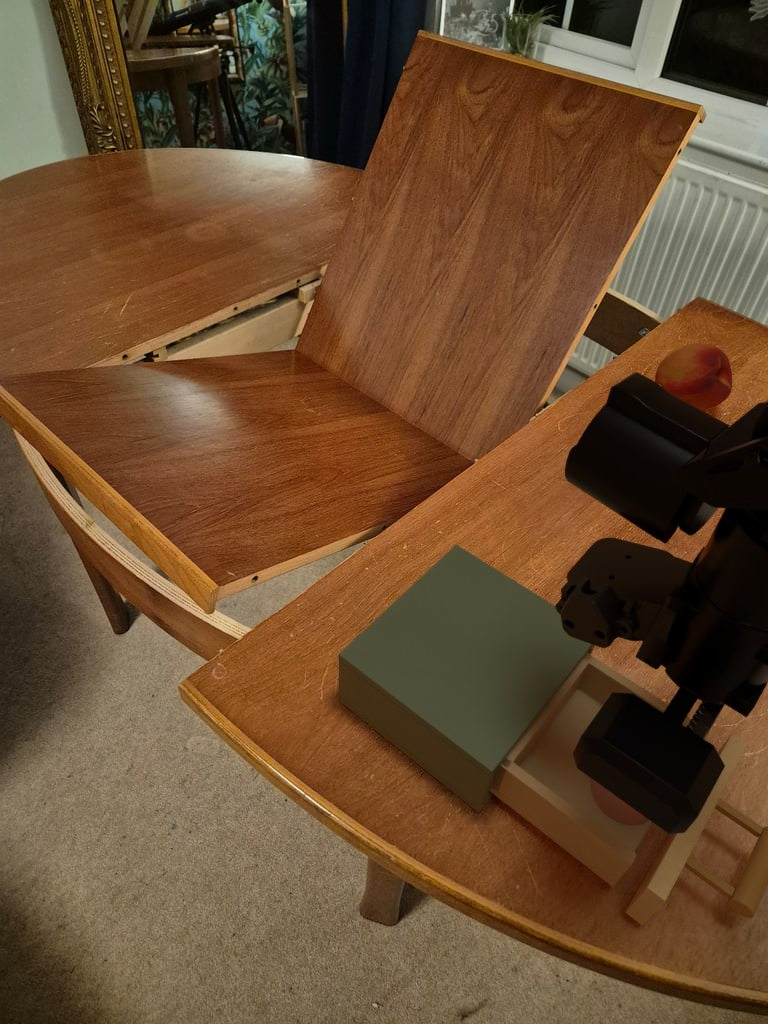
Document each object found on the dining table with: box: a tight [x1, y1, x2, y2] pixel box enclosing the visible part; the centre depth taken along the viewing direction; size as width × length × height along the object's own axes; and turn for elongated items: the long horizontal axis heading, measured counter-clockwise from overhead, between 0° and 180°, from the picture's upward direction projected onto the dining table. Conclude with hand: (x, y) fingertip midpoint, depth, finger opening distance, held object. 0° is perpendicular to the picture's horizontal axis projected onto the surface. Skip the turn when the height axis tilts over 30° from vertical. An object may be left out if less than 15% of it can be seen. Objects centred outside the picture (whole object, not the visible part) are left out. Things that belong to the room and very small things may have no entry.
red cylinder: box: [591, 779, 649, 825], centre depth 50 cm, size 5×5×7 cm
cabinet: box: [338, 544, 596, 813], centre depth 58 cm, size 14×15×7 cm
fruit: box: [654, 343, 733, 412], centre depth 86 cm, size 8×8×8 cm
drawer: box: [489, 653, 768, 926], centre depth 51 cm, size 17×13×5 cm
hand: (658, 740), depth 47 cm, fingers open, 9 cm apart
